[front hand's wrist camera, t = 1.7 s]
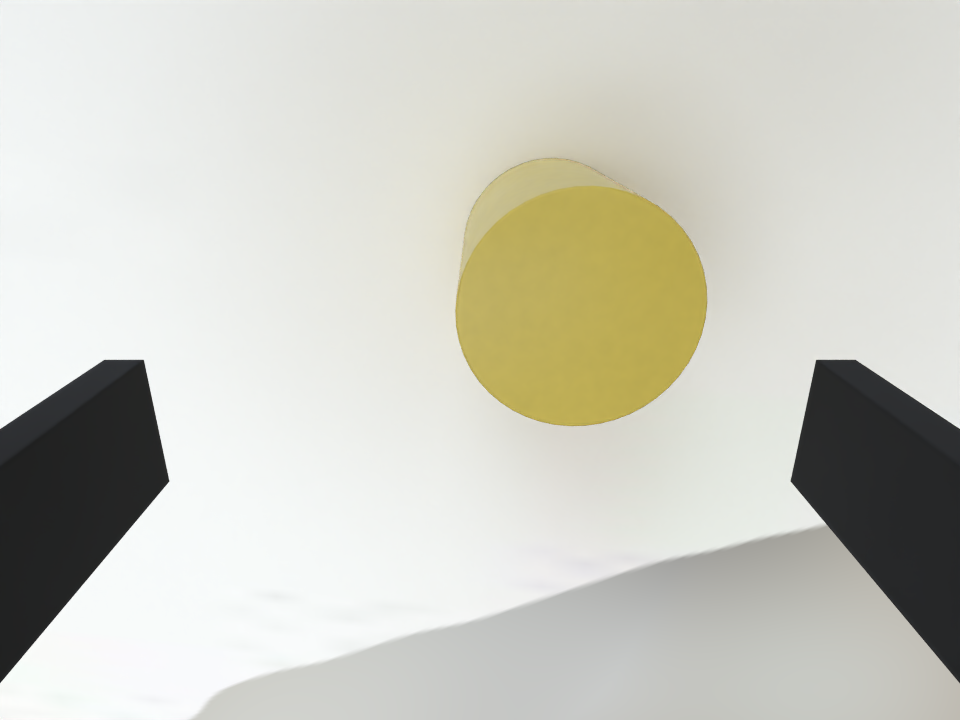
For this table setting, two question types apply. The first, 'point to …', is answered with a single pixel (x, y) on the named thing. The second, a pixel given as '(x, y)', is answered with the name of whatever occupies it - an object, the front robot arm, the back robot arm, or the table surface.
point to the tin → (576, 295)
